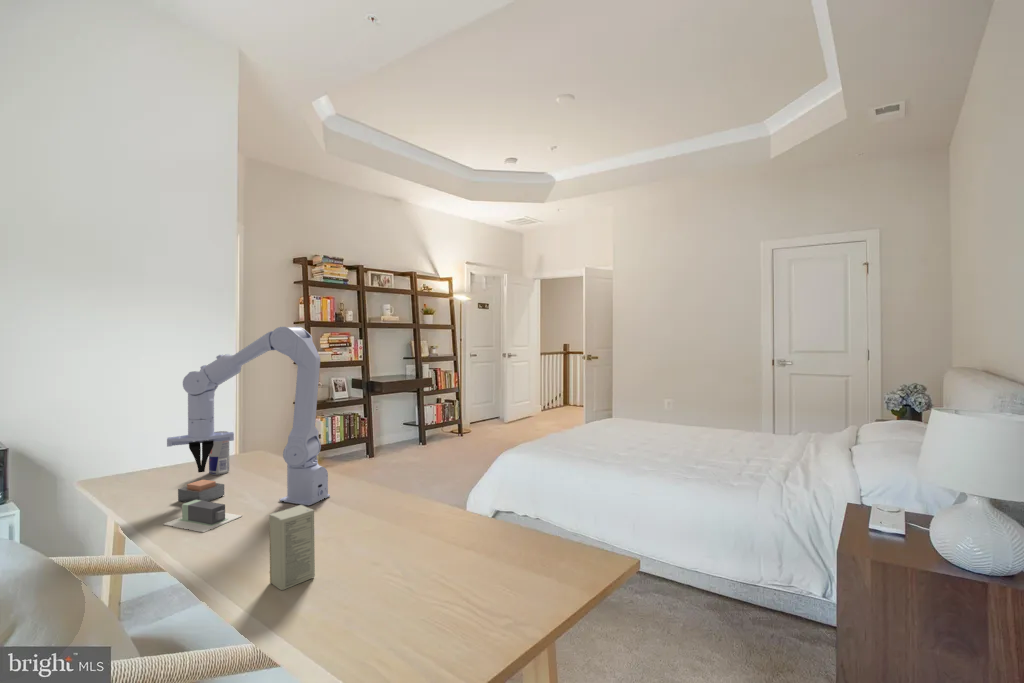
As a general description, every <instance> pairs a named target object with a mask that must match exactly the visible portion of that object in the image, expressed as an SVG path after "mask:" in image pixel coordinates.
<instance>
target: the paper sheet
mask: <svg viewBox="0 0 1024 683" xmlns="http://www.w3.org/2000/svg"><path fill="white" fill-rule="evenodd" d="M242 517H243V515H240V514H234V513H228V512H225V520H222V521H220V522H217V523H215V524H212V525H211V524H206V523H200V522H195V521H190V520H184V519H182V516H181V517H177V518H176V519H173V520H170V521H166V522H164V523H162V525H164V526H169V527H172V526H173V528H178V527H179V528H178V529H183V528H184V529H185V530H188V529H189V530H190V531H195V532H199V533H206V532H207V531H210V529H211V530H212V529H213V530H214V529H216V528H219V527H220V526H223V525H225V524H227V523H230V522H232V521H235V520H238V519H240V518H242ZM237 518H238V519H237ZM184 529H183V530H184Z"/></svg>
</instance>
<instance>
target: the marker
mask: <svg viewBox="0 0 1024 683" xmlns="http://www.w3.org/2000/svg"><path fill="white" fill-rule="evenodd" d="M181 513H182V514H181V517H182V519H184V520H190V521H195V522H200V523H206V524H211V525H212V524H215V523H217V522H220V521H222V520H225V513H226V504H223V503H219V502H211V501H208V502H207V501H201V500H193V501H190V502H183V503H182V504H181Z"/></svg>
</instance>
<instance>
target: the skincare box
mask: <svg viewBox="0 0 1024 683" xmlns="http://www.w3.org/2000/svg"><path fill="white" fill-rule="evenodd" d="M268 519H269V520H268V523H269V529H268V531H269V533H268V535H269V583H270V584H272V585H273V586H274V587H276V588H277V589H279V590H280V591H283V590H286V589H289V588H291V587H294V586H296V585H299V584H301V583H304V582H306V581H309V580H310V579H314V578H315V576H316V573H315V572H316V569H315V560H316V559H315V509H312V508H310V507H308V506H307V505H301V504H298V505H296V506H292V507H288V508H286V509H282V510H279V511H275V512H271V513H269V516H268Z"/></svg>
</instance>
